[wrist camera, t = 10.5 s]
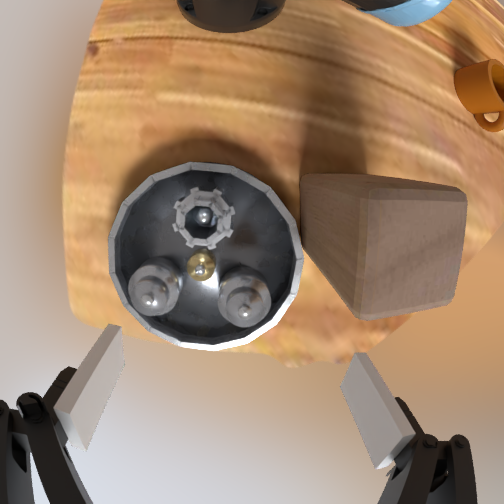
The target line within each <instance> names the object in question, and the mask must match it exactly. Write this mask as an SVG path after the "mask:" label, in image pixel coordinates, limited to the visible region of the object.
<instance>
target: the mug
mask: <svg viewBox="0 0 504 504" xmlns="http://www.w3.org/2000/svg"><path fill="white" fill-rule="evenodd" d="M454 84H455V89H456V92H457V95H458V98H459V99H460V101H461V103H462V104H463V106H464V107H465V108H466V109H467V110H468V111H469V112H471V113H472V114H474V115H475V119H476V121H477V123H478V124H479V125H480V126H481V127H482V128H483V129H485V130H487V131H490V132H499V131H501V130H503V129H504V65H503V64H502V63H501V62H499V61H498V60H496V59H491V60H487V61H484V62H480V63H477V64H473V65H470V66H467V67H464V68H461V69H458V70H457V71H456V73H455V76H454ZM498 112H499V117H498V119H497V120H496V121H495V122H489V121H487V120H486V119H485V117H484V114H488V113H498Z"/></svg>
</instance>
